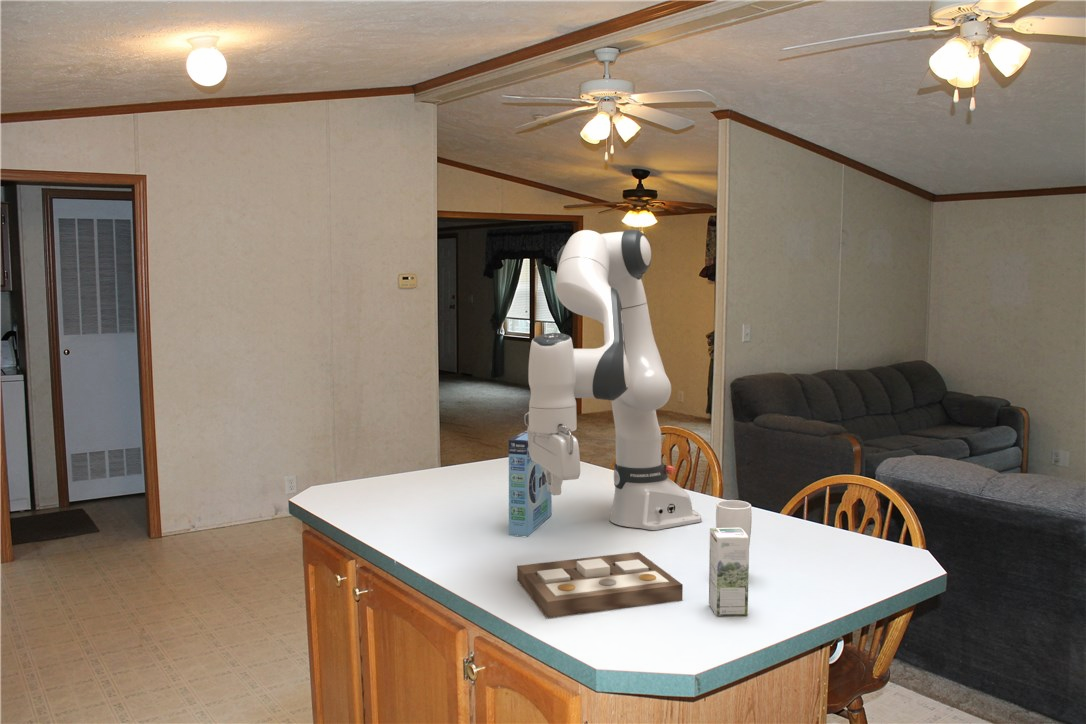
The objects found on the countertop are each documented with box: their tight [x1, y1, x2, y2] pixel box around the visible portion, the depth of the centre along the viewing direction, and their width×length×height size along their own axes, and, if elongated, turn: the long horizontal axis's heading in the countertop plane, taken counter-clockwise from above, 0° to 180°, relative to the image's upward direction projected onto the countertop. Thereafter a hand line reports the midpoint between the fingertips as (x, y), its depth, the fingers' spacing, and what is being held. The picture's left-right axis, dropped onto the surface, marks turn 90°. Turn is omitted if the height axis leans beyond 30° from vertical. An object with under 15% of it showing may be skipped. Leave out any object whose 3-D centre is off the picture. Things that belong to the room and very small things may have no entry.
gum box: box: [508, 429, 553, 537], centre depth 204 cm, size 20×5×23 cm, turn 162°
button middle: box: [577, 558, 610, 578], centre depth 163 cm, size 5×5×3 cm
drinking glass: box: [715, 499, 753, 546], centre depth 166 cm, size 7×7×15 cm
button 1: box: [537, 568, 570, 583], centre depth 161 cm, size 5×5×3 cm
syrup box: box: [708, 527, 750, 617], centre depth 150 cm, size 6×6×14 cm
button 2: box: [615, 560, 649, 573], centre depth 165 cm, size 5×5×3 cm
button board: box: [516, 551, 684, 619], centre depth 161 cm, size 26×20×4 cm
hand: (554, 493), depth 159 cm, fingers closed
